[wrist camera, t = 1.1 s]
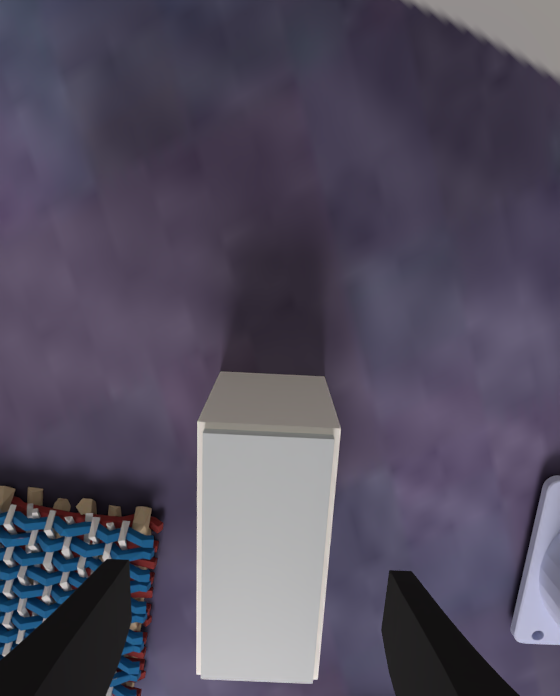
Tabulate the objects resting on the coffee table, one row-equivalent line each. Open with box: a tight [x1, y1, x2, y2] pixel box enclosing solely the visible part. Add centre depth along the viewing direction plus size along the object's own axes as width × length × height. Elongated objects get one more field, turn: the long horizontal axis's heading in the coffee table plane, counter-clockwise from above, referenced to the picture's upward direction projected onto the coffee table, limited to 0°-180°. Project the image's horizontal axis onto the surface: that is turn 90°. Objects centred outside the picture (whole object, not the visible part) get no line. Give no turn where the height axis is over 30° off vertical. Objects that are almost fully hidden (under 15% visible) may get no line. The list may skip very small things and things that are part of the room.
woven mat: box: [0, 486, 163, 696], centre depth 18 cm, size 10×11×2 cm
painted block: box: [196, 371, 341, 684], centre depth 15 cm, size 4×9×5 cm, turn 177°
